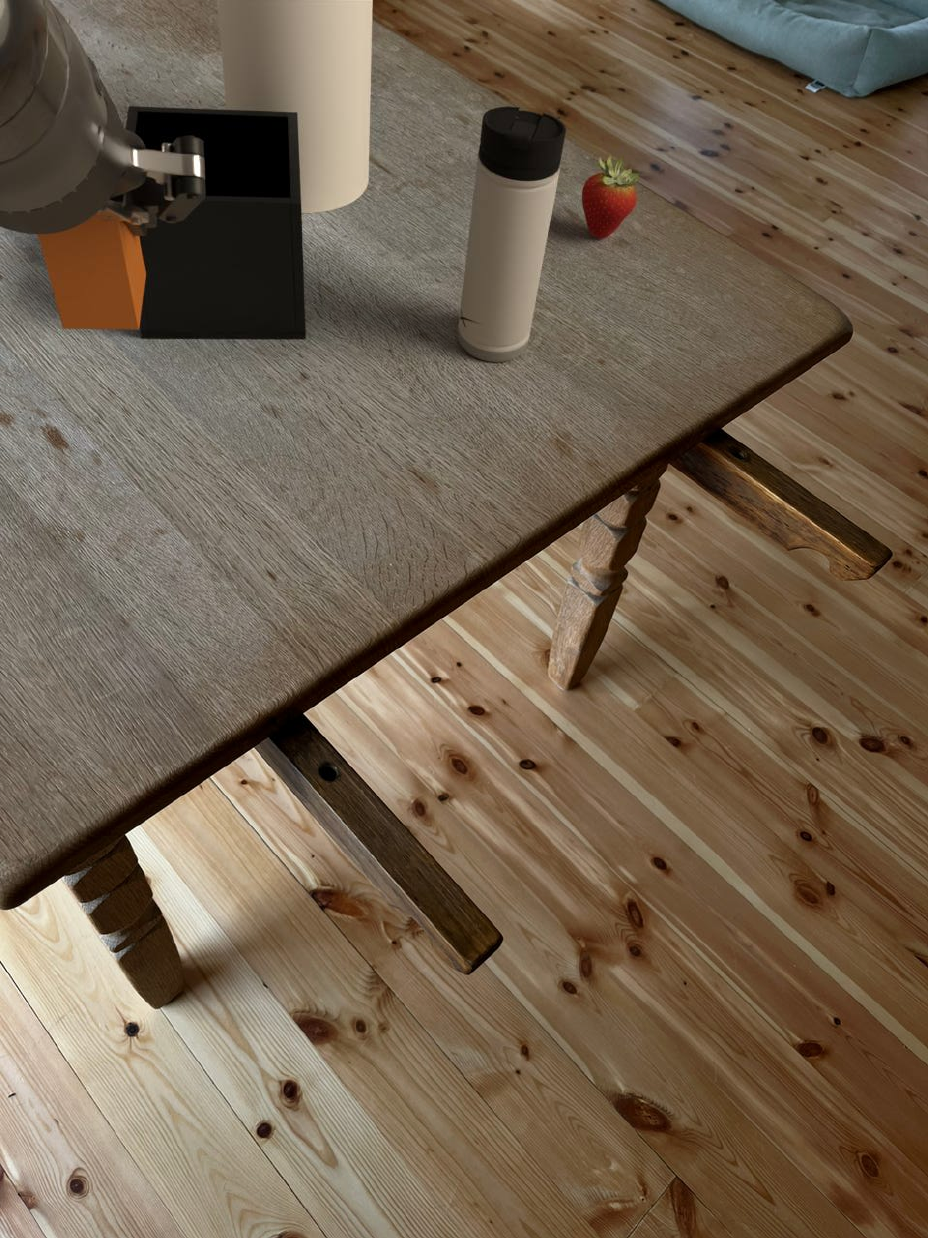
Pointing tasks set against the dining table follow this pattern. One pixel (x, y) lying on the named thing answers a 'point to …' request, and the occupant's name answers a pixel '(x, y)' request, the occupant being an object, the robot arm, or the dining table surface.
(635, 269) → the dining table surface
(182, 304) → the bin
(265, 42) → the canister
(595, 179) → the fruit
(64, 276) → the block
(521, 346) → the travel mug
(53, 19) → the robot arm
